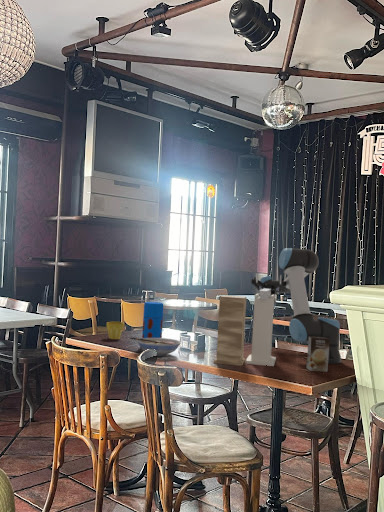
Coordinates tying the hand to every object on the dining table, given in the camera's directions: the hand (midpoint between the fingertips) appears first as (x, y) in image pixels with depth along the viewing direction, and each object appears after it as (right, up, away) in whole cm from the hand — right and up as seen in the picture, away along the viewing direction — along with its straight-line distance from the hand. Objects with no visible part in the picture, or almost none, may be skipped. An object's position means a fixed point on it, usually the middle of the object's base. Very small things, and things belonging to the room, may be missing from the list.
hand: (268, 275), depth 322 cm
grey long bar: (-5, -10, -27) cm, 29 cm away
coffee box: (+18, -45, -45) cm, 66 cm away
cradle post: (-8, -43, -30) cm, 53 cm away
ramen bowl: (-61, -40, -28) cm, 78 cm away
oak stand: (-25, -42, -37) cm, 61 cm away
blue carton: (-66, -40, -5) cm, 78 cm away
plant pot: (-91, -39, +20) cm, 101 cm away
